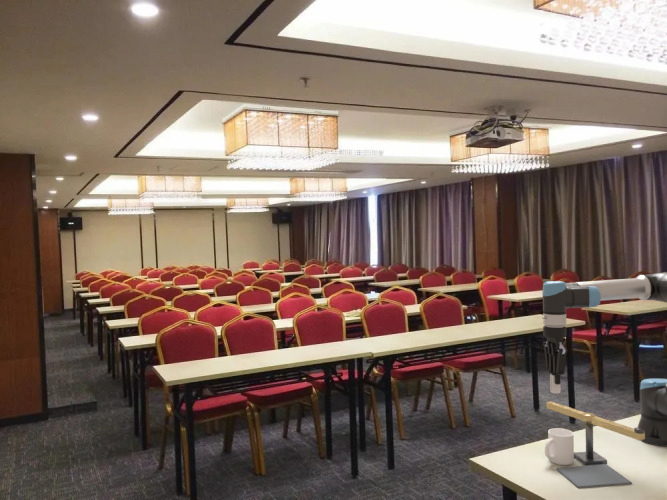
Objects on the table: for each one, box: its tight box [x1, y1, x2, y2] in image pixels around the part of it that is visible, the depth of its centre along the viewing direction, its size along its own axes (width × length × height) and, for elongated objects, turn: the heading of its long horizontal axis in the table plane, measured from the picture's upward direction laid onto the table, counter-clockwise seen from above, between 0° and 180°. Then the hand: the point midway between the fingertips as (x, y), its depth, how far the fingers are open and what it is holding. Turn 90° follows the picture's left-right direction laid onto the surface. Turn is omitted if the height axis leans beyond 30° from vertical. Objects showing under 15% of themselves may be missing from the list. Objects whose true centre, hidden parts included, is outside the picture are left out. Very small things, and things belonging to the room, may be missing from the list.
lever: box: [546, 401, 645, 441], centre depth 193 cm, size 38×4×3 cm, turn 25°
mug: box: [544, 427, 575, 466], centre depth 194 cm, size 12×8×10 cm
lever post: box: [574, 423, 608, 466], centre depth 194 cm, size 8×8×14 cm
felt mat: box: [555, 463, 633, 489], centre depth 182 cm, size 18×14×1 cm
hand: (555, 392), depth 194 cm, fingers closed
